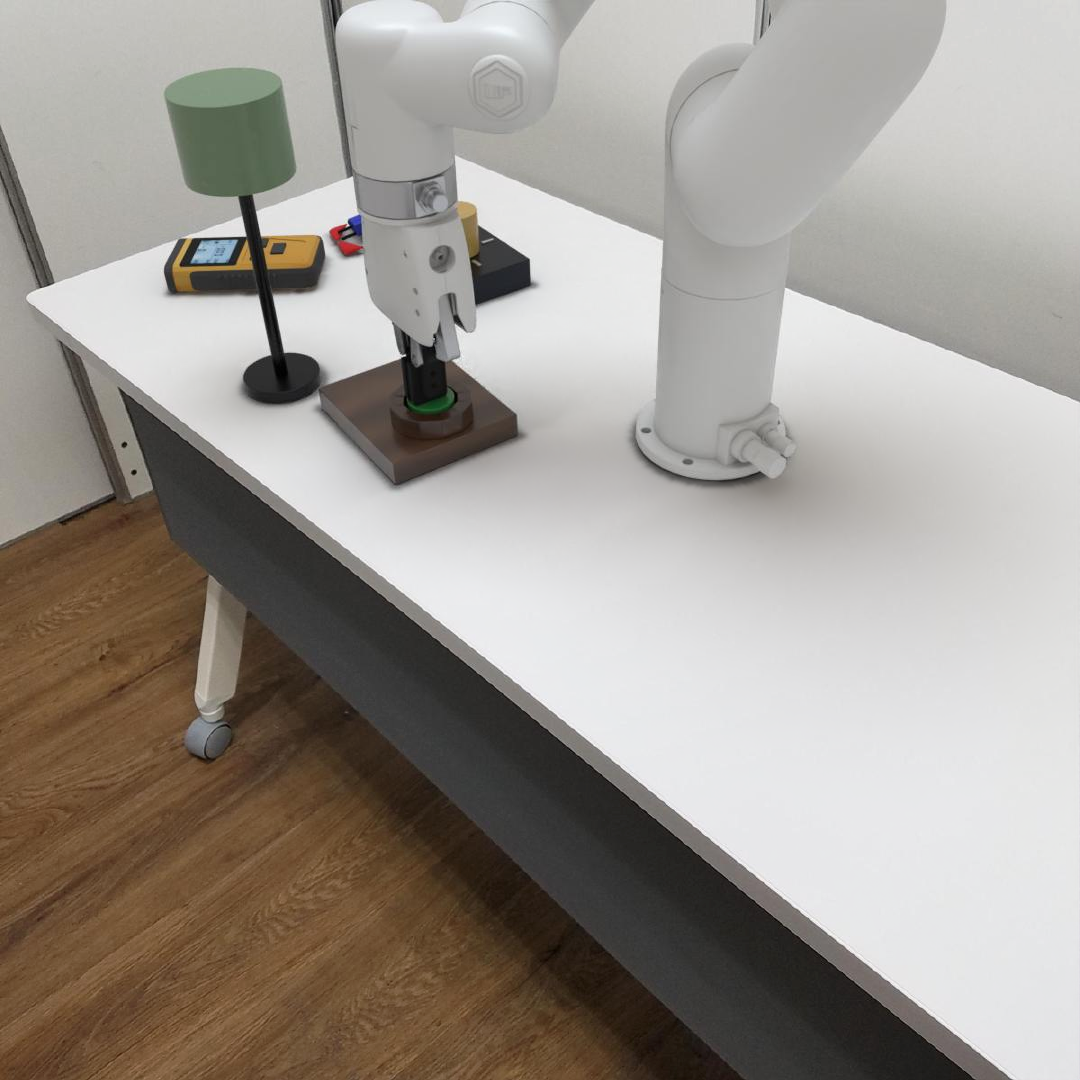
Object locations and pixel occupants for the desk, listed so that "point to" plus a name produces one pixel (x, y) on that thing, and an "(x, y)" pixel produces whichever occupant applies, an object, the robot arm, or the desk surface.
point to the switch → (434, 404)
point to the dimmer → (469, 226)
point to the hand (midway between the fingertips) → (426, 396)
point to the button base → (415, 420)
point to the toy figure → (357, 230)
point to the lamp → (243, 188)
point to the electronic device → (243, 263)
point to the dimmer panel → (497, 268)
